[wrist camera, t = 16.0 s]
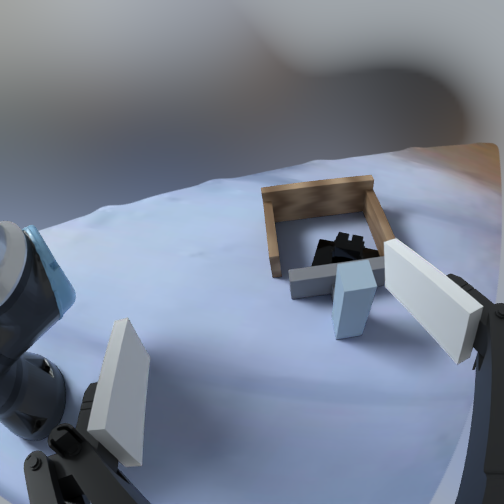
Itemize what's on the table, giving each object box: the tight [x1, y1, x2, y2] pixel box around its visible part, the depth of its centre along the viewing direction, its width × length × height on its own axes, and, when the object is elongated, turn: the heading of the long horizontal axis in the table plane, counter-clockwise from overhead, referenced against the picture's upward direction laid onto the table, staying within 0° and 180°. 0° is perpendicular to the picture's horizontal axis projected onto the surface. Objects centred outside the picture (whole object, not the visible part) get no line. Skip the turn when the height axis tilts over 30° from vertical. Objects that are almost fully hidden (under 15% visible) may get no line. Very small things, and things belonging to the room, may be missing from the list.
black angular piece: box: [311, 232, 380, 267], centre depth 48 cm, size 13×8×5 cm, turn 68°
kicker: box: [288, 256, 385, 339], centre depth 39 cm, size 14×9×12 cm, turn 93°
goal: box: [261, 175, 395, 278], centre depth 50 cm, size 19×13×7 cm
